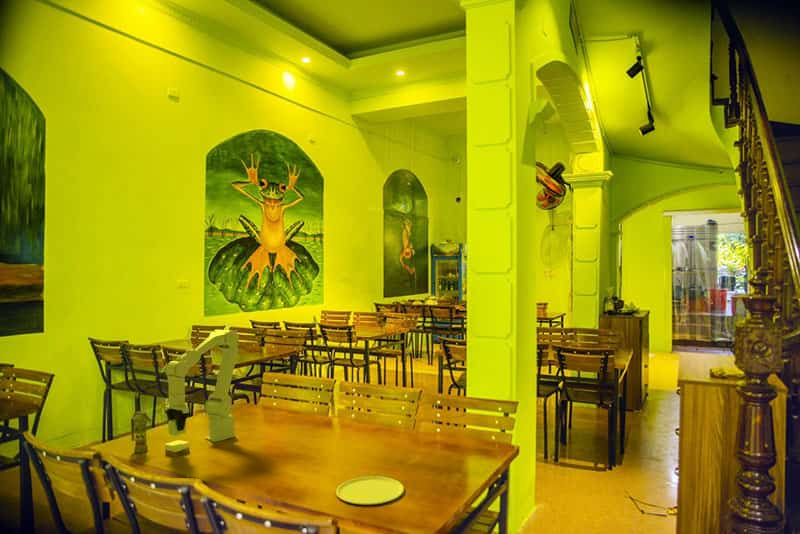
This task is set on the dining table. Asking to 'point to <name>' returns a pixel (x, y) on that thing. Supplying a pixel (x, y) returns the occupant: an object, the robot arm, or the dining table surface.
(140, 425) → the grenade
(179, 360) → the robot arm
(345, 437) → the dining table surface
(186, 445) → the cream slab
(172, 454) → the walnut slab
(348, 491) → the plate
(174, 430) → the sage block
